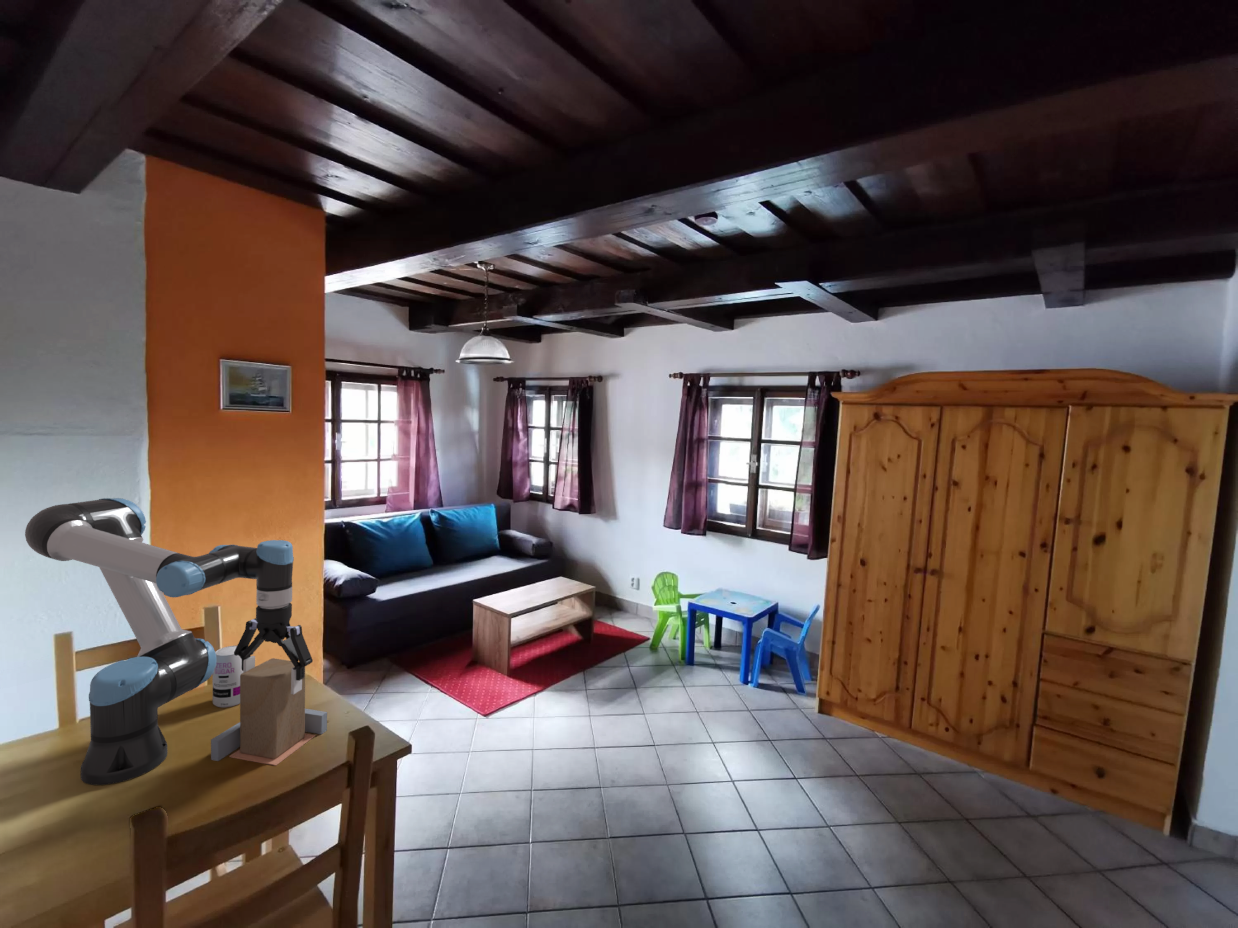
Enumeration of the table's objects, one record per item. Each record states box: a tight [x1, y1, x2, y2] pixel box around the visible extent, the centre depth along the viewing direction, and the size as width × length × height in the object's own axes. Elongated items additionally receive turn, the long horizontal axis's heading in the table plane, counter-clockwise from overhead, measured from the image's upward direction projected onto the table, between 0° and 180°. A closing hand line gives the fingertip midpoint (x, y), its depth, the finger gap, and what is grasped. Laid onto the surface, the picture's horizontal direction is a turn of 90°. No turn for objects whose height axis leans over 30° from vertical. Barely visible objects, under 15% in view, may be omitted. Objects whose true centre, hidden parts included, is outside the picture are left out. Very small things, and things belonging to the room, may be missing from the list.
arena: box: [210, 708, 328, 766], centre depth 141 cm, size 18×18×5 cm
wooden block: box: [239, 657, 306, 759], centre depth 139 cm, size 10×10×20 cm
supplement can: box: [212, 645, 243, 708], centre depth 159 cm, size 8×8×15 cm
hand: (272, 687), depth 139 cm, fingers open, 13 cm apart
